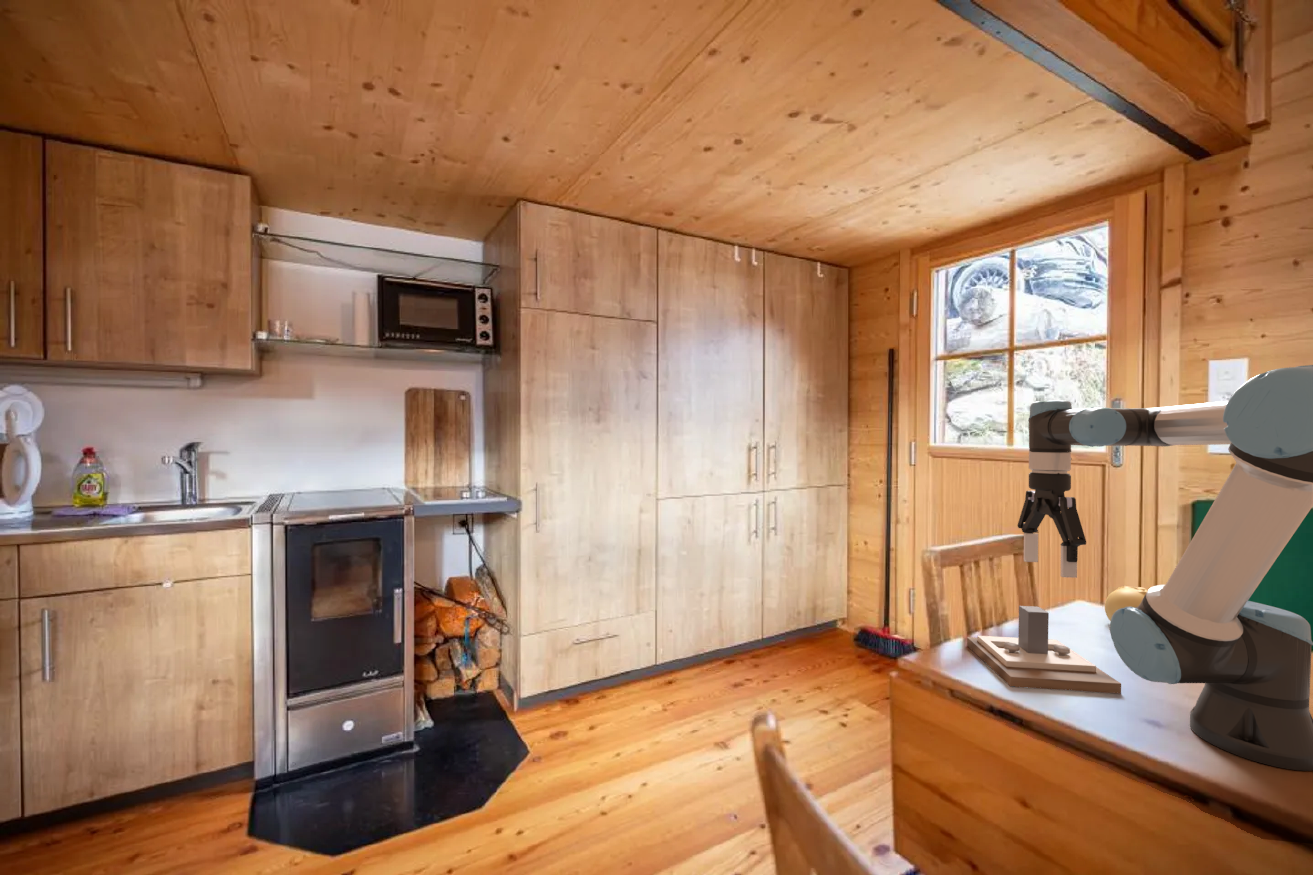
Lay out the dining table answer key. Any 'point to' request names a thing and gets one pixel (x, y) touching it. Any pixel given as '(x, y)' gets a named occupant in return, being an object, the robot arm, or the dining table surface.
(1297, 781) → the dining table surface
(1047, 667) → the panel
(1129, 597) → the sculpture
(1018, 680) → the board
